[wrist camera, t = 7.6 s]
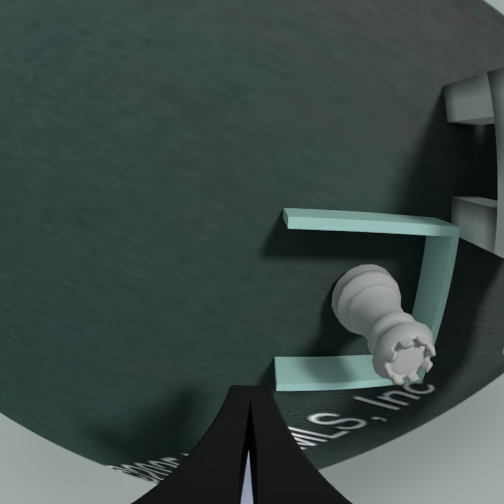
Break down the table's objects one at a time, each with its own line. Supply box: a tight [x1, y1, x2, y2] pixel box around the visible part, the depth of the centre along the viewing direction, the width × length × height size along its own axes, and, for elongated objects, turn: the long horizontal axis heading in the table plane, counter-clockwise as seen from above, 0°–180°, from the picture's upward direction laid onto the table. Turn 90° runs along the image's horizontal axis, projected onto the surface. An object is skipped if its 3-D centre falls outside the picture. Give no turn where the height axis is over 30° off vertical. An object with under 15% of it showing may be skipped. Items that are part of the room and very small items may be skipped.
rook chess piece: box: [332, 265, 436, 386], centre depth 16 cm, size 4×4×8 cm
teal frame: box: [274, 208, 460, 391], centre depth 18 cm, size 10×11×3 cm
